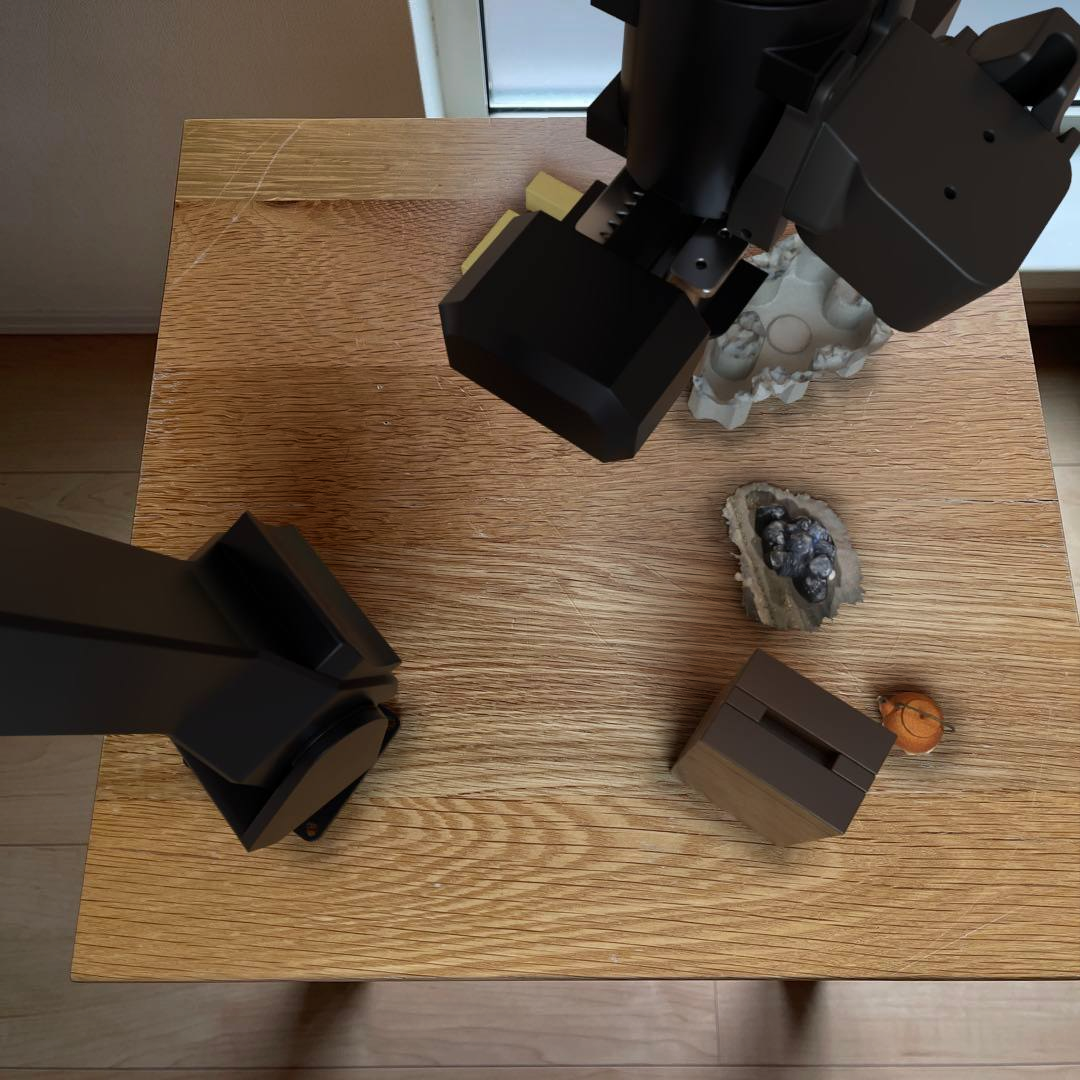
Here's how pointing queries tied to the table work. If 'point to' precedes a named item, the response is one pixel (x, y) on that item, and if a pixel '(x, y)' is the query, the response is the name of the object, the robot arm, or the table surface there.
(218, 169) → the table surface
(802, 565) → the blue crystal geode
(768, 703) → the brown slotted box
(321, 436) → the table surface
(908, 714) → the teapot
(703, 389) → the egg carton
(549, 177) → the butter pat
